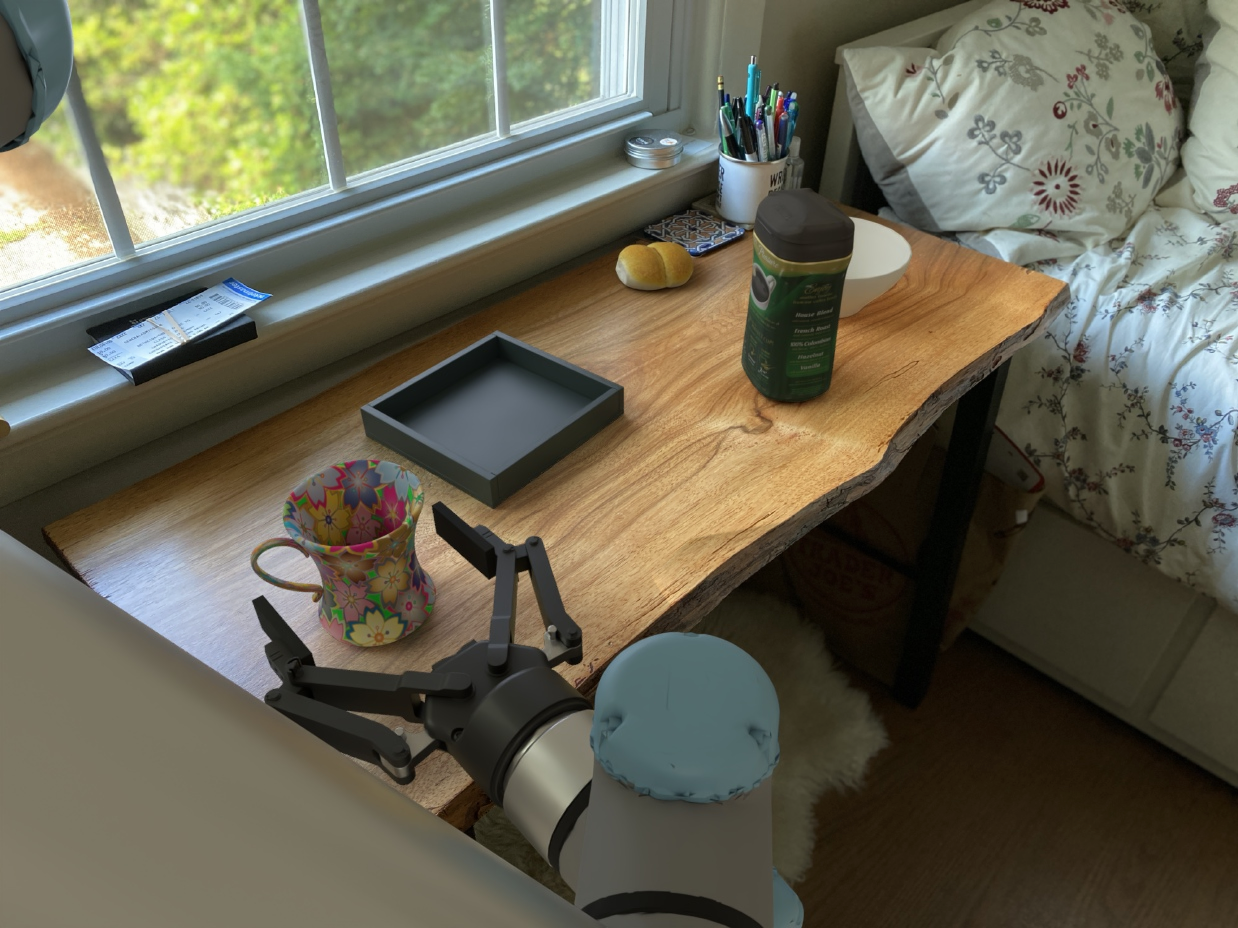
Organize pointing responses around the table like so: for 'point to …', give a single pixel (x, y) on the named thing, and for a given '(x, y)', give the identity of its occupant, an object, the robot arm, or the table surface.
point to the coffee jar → (795, 294)
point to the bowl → (873, 265)
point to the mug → (359, 550)
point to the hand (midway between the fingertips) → (354, 561)
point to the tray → (493, 416)
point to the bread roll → (654, 266)
